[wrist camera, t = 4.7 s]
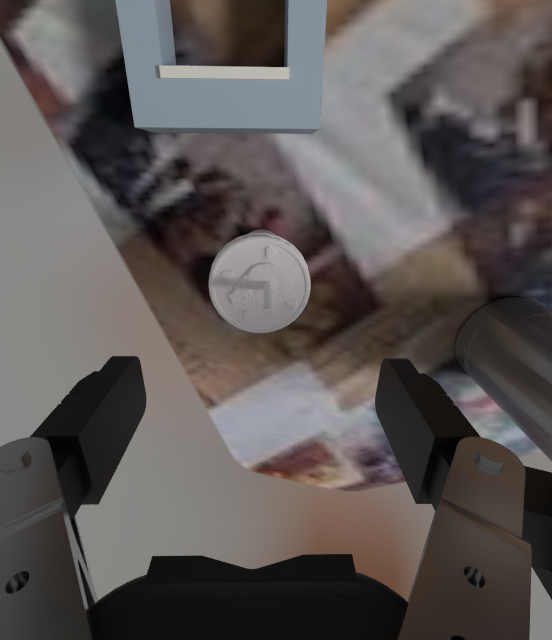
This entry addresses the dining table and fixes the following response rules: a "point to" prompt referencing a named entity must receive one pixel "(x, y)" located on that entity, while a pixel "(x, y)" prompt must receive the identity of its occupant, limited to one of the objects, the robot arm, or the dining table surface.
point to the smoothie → (259, 282)
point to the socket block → (222, 77)
